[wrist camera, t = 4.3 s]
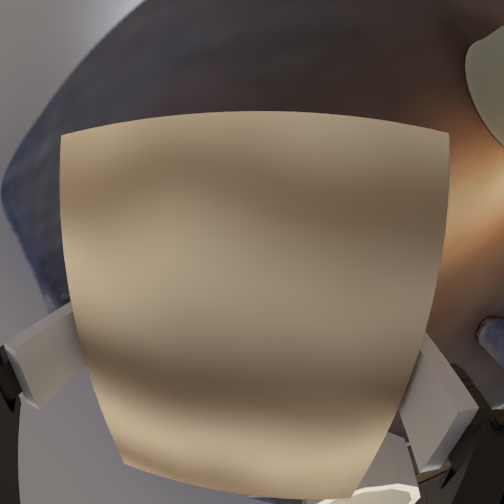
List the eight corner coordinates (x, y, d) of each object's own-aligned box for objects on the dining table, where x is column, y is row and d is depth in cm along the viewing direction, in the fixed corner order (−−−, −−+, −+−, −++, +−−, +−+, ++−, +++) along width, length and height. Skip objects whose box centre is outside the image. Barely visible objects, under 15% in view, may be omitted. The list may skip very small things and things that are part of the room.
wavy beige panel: (102, 140, 10) (61, 135, 8) (416, 143, 8) (449, 133, 6) (142, 436, 14) (124, 463, 11) (347, 464, 12) (350, 498, 10)
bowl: (315, 432, 20) (314, 489, 14) (422, 427, 19) (439, 475, 13) (299, 487, 23) (295, 531, 17) (387, 482, 21) (394, 523, 15)
